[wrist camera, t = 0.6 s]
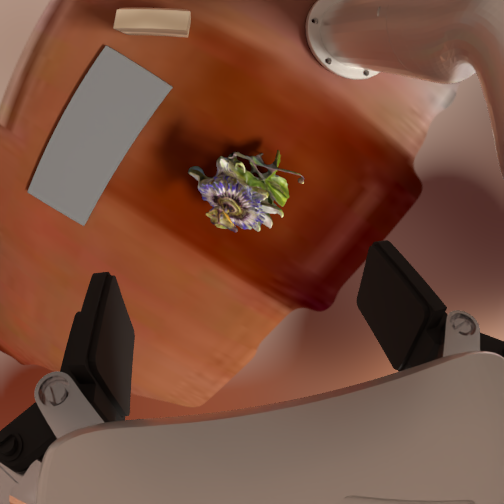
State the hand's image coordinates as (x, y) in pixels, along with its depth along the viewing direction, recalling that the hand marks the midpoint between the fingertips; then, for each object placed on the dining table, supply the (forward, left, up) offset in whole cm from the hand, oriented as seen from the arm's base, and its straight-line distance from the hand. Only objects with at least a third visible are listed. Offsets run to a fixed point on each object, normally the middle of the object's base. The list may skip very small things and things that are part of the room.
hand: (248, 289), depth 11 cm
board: (-6, -12, -31) cm, 33 cm away
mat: (+10, -11, -31) cm, 34 cm away
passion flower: (+3, +8, -31) cm, 32 cm away
